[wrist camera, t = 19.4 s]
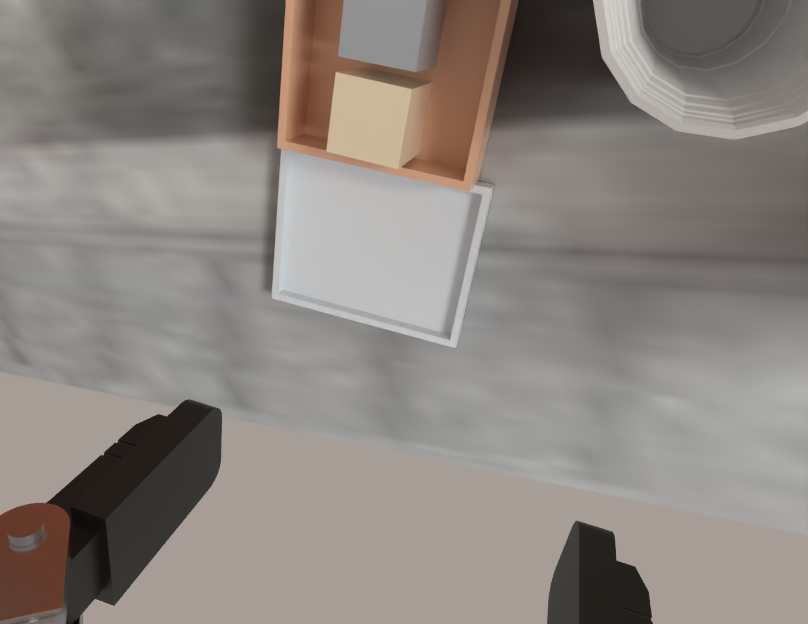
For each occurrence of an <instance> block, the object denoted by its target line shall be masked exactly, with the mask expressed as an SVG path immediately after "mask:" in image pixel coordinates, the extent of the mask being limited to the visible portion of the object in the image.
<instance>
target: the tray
mask: <svg viewBox="0 0 808 624" xmlns="http://www.w3.org/2000/svg"><path fill="white" fill-rule="evenodd" d="M494 185H495V184H490V183H486V182H481V181H477V182H476V184H475V185H474V187H473V188H472V190H471V191H470V192H469V191H464V190H460V189H455V188H451V187H447V186H442V185H438V184H433V183H429V182H425V181H420V180H416V179H411V178H407V177H403V176H398V175H394V174H389V173H385V172H381V171H376V170H372V169H368V168H363V167H359V166H354V165H350V164H346V163H341V162H337V161H332V160H328V159H324V158H319V157H315V156H310V155H306V154H302V153H297V152H293V151H288V150H284V149H281V158H280V174H279V190H278V205H277V221H276V237H275V253H274V268H273V284H272V299H276V300H280V301H283V302H287V303H291V304H294V305H298V306H302V307H305V308H309V309H313V310H316V311H320V312H324V313H328V314H331V315H335V316H339V317H342V318H346V319H350V320H353V321H357V322H361V323H364V324H368V325H372V326H375V327H379V328H383V329H387V330H390V331H394V332H398V333H401V334H405V335H409V336H412V337H416V338H420V339H423V340H427V341H431V342H434V343H438V344H442V345H446V346H449V347H453V348H456V345H457V343H458V340H459V336H460V331H461V327H462V323H463V318H464V314H465V310H466V306H467V301H468V297H469V293H470V288H471V284H472V280H473V275H474V271H475V267H476V263H477V258H478V254H479V250H480V245H481V241H482V237H483V232H484V228H485V224H486V220H487V215H488V211H489V207H490V202H491V198H492V194H493V189H494Z"/></svg>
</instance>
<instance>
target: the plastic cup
mask: <svg viewBox="0 0 808 624" xmlns="http://www.w3.org/2000/svg"><path fill="white" fill-rule="evenodd" d="M593 4H594V10H595V16H596V23H597V29H598V36H599V42H600V49H601V55H602V58H603V60H604V61H605V63H606V65H607V66H608V68H609V69H610V71H611V72H612V74H613V75H614V77H615V79H616V80H617V82H618V83H619V85H620V86H621V88H622V90H623V91H624V93H625V94H626V96H627V97H628V99H629V100H630V102H631V103H632V104H634V105H635V106H637V107H639V108H640V109H642V110H643V111H645V112H647V113H648V114H650V115H651V116H653V117H655V118H656V119H658V120H659V121H661V122H663V123H664V124H666V125H667V126H669V127H671V128H672V129H674V130H675V131H678V132H685V133H691V134H698V135H705V136H711V137H718V138H725V139H732V140H736V139H741V138H746V137H751V136H755V135H760V134H765V133H769V132H774V131H779V130H784V129H788V128H793V127H798V126H800V125H802V124H804V123H805V122H807V121H808V0H593Z"/></svg>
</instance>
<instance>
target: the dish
mask: <svg viewBox="0 0 808 624" xmlns="http://www.w3.org/2000/svg"><path fill="white" fill-rule="evenodd" d="M518 2H519V0H448V1H447V6H446V12H445V18H444V23H443V29H442V35H441V41H440V46H439V52H438V58H437V64H436V67H435V68H431V69H427V70H422V71H418V72H412V71H408V70H403V69H398V68H393V67H388V66H383V65H378V64H373V63H368V62H363V61H358V60H353V59H348V58H343V57H339V56H338V52H339V43H340V33H341V23H342V14H343V4H344V0H286V8H285V24H284V41H283V57H282V74H281V90H280V107H279V123H278V140H277V148H280V149H284V150H288V151H293V152H297V153H302V154H306V155H310V156H315V157H319V158H324V159H328V160H332V161H337V162H341V163H346V164H350V165H354V166H359V167H363V168H368V169H372V170H376V171H381V172H385V173H389V174H394V175H398V176H403V177H407V178H411V179H416V180H420V181H425V182H429V183H433V184H438V185H442V186H447V187H451V188H455V189H460V190H464V191H469V192H470V191H471V190H472V188H473V187H474V185H475V184H476V182H477V181H478V179H479V178H480V175H481V170H482V166H483V161H484V157H485V152H486V148H487V143H488V139H489V134H490V130H491V125H492V120H493V116H494V111H495V107H496V102H497V98H498V93H499V89H500V84H501V80H502V75H503V70H504V66H505V61H506V57H507V52H508V48H509V43H510V39H511V34H512V29H513V25H514V20H515V16H516V11H517V7H518ZM364 67H366V68H371V69H375V70H380V71H384V72H388V73H393V74H397V75H402V76H406V77H411V78H415V79H420V80H424V81H429V82H432V88H431V93H430V98H429V103H428V109H427V114H426V119H425V124H424V130H423V135H422V140H421V145H420V151H419V154H417V155H416V156H415V157H413V158H412V159H411V160H410V161H408V162H407V163H406V164H404V165H403V166H402V167H400V168H399V169H394V168H390V167H386V166H382V165H378V164H374V163H370V162H366V161H362V160H358V159H354V158H350V157H346V156H342V155H338V154H334V153H330V152H326V150H327V141H328V133H329V125H330V116H331V108H332V99H333V91H334V82H335V74H336V72H339V71H345V70H351V69H358V68H364Z"/></svg>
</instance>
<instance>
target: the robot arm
mask: <svg viewBox="0 0 808 624" xmlns="http://www.w3.org/2000/svg"><path fill="white" fill-rule="evenodd" d="M221 432H222V413H221V410H220V409H219V408H216V407H212V406H209V405H206V404H203V403H199V402H196V401H193V400H185V401H184V402H182V403H181V404H180V405H179V406H178V407H177V408H176V409H175V410H174V411H173V412H172V413H170V414H169V415H168V416H167V417H166V416H163V415H159V414H158V415H156V416H153V417H151V418H149V419H147V420H145V421H143V422H140V423H138V424H136V425H135V426H133V427H132V428H131V429H130V430H129V431H128V432H127V433H126V434H124V435H123V436H122V437H121V438H120V439H119V440H118V442H117V443H114V444H113V445H112V446H111V447H110V448H109V449H108V450H106V451H105V452H104V455H103V456H102V455H101V456H99V457H98V458H97V459H96V460H95V461H94V462H93V463H91V464H90V465H89V466H88V467H87V468H86V469H85V470H84V471H82V472H81V473H80V474H79V475H78V476H77V477H76V478H74V479H73V480H72V481H71V482H70V483H69V484H68V485H66V486H65V487H64V488H63V489H62V490H61V491H60V492H59V493H57V494H56V495H55V496H54V497H53V498H52V499H51V500H50V501H48V502H47V503H33V504H27V505H22V506H19V507H16V508H14V509H11V510H9V511H7V512H5V513H3V514H2V515H0V624H83V612H84V611H85V609H86V608H87V607H88V606H89V605H90V604H91V602H92V601H93V600H94V599H97V600H100V601H103V602H105V603H108V604H111V605H113V606H114V605H115V604H116V603H117V602H118V600H119V599H120V598H121V597H122V595H123V594H124V593H125V592H126V591H127V589H128V588H129V587H130V586H131V584H132V583H133V582H134V581H135V579H136V578H137V577H138V576H139V575H140V573H141V572H142V571H143V570H144V568H145V567H146V566H147V565H148V563H149V562H150V561H151V560H152V558H153V557H154V556H155V555H156V554H157V552H158V551H159V550H160V548H161V547H162V546H163V545H164V544H165V543H166V541H167V540H168V539H169V538H170V536H171V535H172V534H173V533H174V531H175V530H176V529H177V528H178V526H179V525H180V524H181V523H182V522H183V520H184V519H185V518H186V517H187V515H188V514H189V513H190V512H191V510H192V509H193V508H194V507H195V506H196V504H197V503H198V502H199V501H200V499H201V498H202V497H203V496H204V494H205V493H206V492H207V491H208V489H209V488H210V487H211V486H212V484H213V482H214V480H215V478H216V476H217V474H218V471H219V468H220V463H221V434H222V433H221ZM548 601H549V602H548V618H547V624H653V623H652V621H651V617H652V615H651V607H650V599H649V592H648V590H647V588H646V586H645V584H644V582H643V580H642V579H641V577H640V575H639V573H638V571H637V569H636V568H635V566H631V565H628V564H625V563H622V562H619V561H616V548H615V536H614V534H613V532H612V531H608V530H605V529H602V528H599V527H596V526H592V525H589V524H586V523H583V522H579V521H576V522H575V523H574V525H573V526H572V529H571V531H570V534H569V536H568V539H567V541H566V544H565V546H564V549H563V552H562V554H561V556H560V559H559V561H558V564H557V566H556V569H555V572H554V575H553V578H552V582H551V587H550V592H549V600H548Z"/></svg>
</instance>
